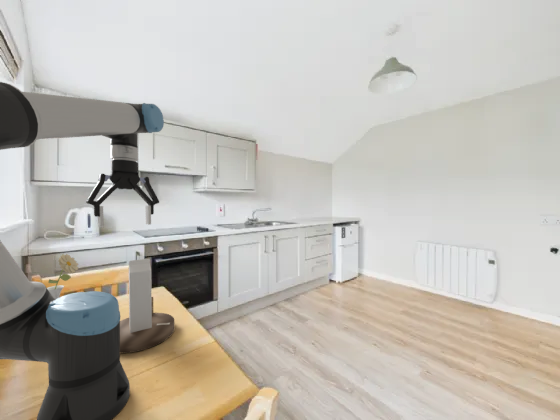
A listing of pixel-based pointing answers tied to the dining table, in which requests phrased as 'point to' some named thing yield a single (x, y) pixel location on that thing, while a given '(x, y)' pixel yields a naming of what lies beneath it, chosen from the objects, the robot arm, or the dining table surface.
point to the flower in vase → (69, 267)
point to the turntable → (146, 333)
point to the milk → (140, 295)
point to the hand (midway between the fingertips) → (126, 225)
